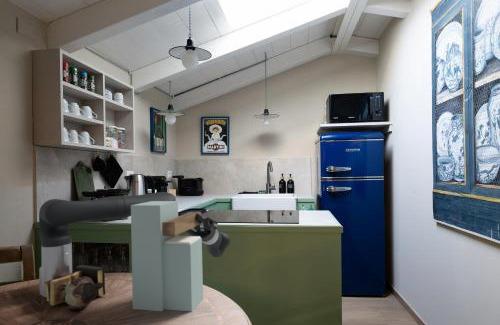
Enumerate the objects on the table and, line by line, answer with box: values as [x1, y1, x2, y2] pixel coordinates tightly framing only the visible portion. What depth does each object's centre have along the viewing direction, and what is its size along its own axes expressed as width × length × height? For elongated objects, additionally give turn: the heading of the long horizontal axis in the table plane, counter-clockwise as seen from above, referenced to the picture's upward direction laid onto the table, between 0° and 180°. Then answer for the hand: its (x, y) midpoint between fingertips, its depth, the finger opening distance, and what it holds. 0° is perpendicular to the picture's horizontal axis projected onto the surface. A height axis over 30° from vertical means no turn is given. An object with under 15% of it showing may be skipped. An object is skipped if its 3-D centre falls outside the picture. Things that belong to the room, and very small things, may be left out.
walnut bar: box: [162, 211, 202, 236], centre depth 100 cm, size 4×20×4 cm, turn 167°
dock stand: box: [130, 200, 204, 312], centre depth 100 cm, size 19×12×32 cm, turn 77°
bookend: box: [44, 264, 106, 311], centre depth 102 cm, size 15×11×25 cm
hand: (189, 216), depth 105 cm, fingers closed on walnut bar, 4 cm apart
